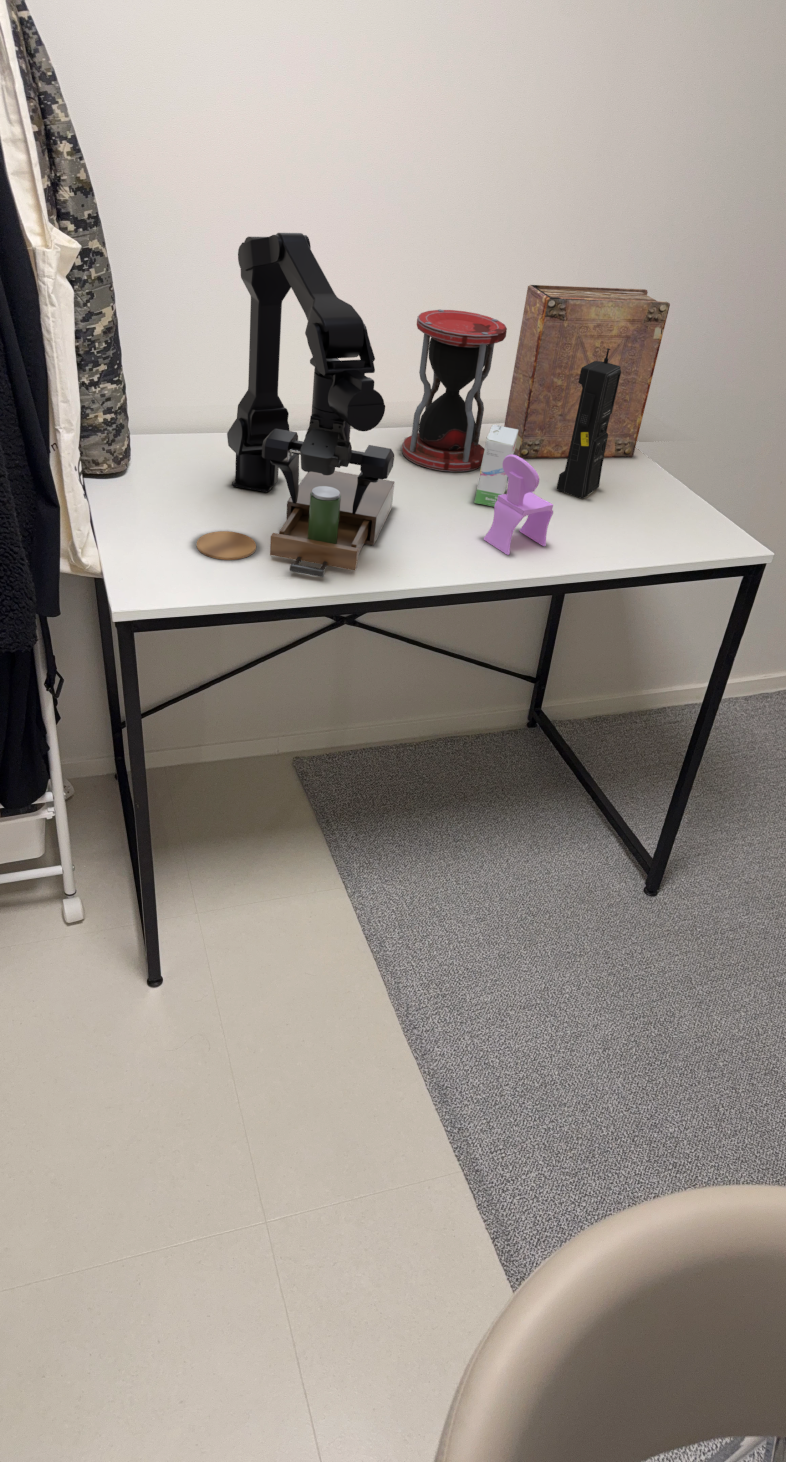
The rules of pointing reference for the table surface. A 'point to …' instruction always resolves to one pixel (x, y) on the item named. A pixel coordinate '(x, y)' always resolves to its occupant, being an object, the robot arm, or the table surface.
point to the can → (324, 514)
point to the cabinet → (350, 498)
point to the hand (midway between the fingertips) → (324, 507)
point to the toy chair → (519, 506)
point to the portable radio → (590, 428)
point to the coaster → (226, 545)
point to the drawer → (319, 543)
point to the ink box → (495, 464)
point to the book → (581, 364)
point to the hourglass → (452, 389)
